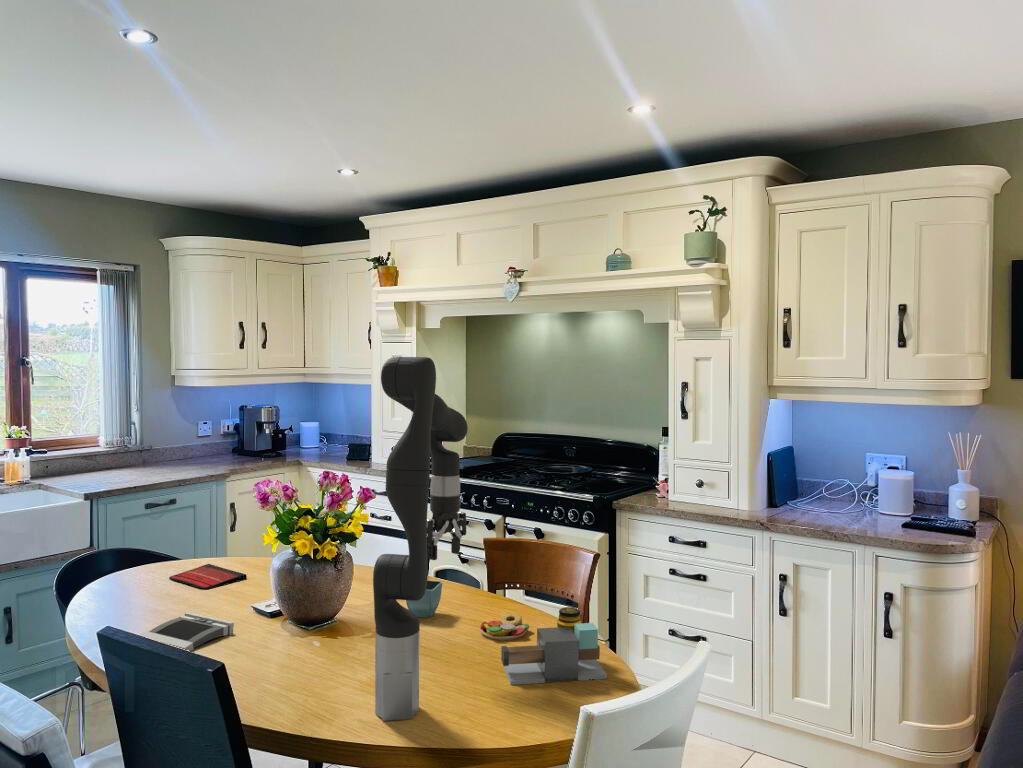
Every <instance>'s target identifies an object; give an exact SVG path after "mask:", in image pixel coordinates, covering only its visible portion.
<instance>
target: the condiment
mask: <svg viewBox="0 0 1023 768" xmlns="http://www.w3.org/2000/svg"><path fill="white" fill-rule="evenodd" d="M558 613H559V614H558V620H557V622H556V623H557V624H556V627H570V629H571V630H572V632H573V633H574V631H575V624H581V623H582V621H581V616H580V615H581V612H580V609H578V608H576V607H572V606H571V607H570V606H566V607H562V608H560V609H559V611H558Z"/></svg>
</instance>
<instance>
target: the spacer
mask: <svg viewBox="0 0 1023 768" xmlns="http://www.w3.org/2000/svg"><path fill="white" fill-rule="evenodd" d="M574 634H575V636H576V637H577V639H578V640H579V649H593V648H598V645H599V644H598V643H599V642H598V641H599V640H598V639H599V637H598V636H599V629H598V628H597V627H596V625H595V624H594V623H593V622H585V623H583V622H581V624H575V631H574Z"/></svg>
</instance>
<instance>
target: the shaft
mask: <svg viewBox="0 0 1023 768" xmlns="http://www.w3.org/2000/svg"><path fill="white" fill-rule="evenodd" d="M500 647H501V648H500V649H501V650H500V653H501V654H500V656H501V658H500V660H501V663H502V665H503V667H504V666H509V664H527V663H542V662H543V648H542V647H541V645H537V644H536V645H519V646H507V645H501V646H500ZM600 649H601V648H600V645H599V644H598V648H593V649H579V654H578V660H600V655H601V654H600V653H601V652H600Z"/></svg>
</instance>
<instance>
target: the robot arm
mask: <svg viewBox="0 0 1023 768" xmlns="http://www.w3.org/2000/svg"><path fill="white" fill-rule="evenodd" d="M380 384H381V386H382V387H381V388H382V390H383V392H384V393H385V394H386V396H387V397H388V398H390V399H392V400H393V401H395V402H397V403H399V405H401V406H402V407H403V406H404V407H405V408H406V409H408V410H409V411H411V412H412V415H411V416H412V417H411V419H410V420H409V421H410V422H409V424H408V426H407V428H406V429H405V431H404V432H403V433H402V435H401V437H400V438H399V439H398V441H397V442H396V444H395V445H394V447H393V449H392V450H391V452H390V453H389V455H388V457H387V461H386V467H385V468H386V470H385V471H386V472H385V493H386V497H387V500H388V502H389V503H390V505H391V508H392V509H393V511H394V512H395V514H396V516H397V518H398V519H399V521H400V523H401V526H402V527H403V529H404V533H405V536H406V539H407V545H408V554H398V553H397V554H396V553H383V554H380V555H379V556H378V557H377V559H376V561H375V564H374V567H373V571H372V573H373V575H372V576H373V577H372V584H373V585H372V587H373V588H372V589H373V591H372V592H373V608H374V609H373V610H374V613H373V616H374V624H375V646H374V647H375V649H374V650H375V653H374V655H375V657H374V658H375V660H374V661H375V662H374V663H375V664H374V666H375V667H374V668H375V669H374V671H375V672H374V696H375V697H374V699H375V700H374V704H375V705H374V711H375V713H374V714H375V715H376V716H378V717H379V718H380V719H382V721H383V722H386V721H387V722H388V721H398V720H399V721H401V720H411V719H414V718H413V717H414V716H415V715H416V714H418V712H419V710H420V633H421V631H420V626H421V625H420V622H421V621H420V617H418V615H417V614H415V613H414V612H412V611H410V610H409V609H408V608H406V607H405V606H403V605H401V604H400V603H399V602H398V600H400V601H406V600H411V601H416V600H420V599H421V598H422V597H423V596H424V594H425V591H426V586H427V580H428V577H429V576H428V572H429V571H428V567H429V566H428V564H429V563H428V559H429V560H431V561H437V560H438V543H439V541H440V539H441V538H443V537H444V536H443V535H446V534H447V533H449V534H450V536H451V539H450V540H451V542H450V544H451V545H450V549H451V554H454V555H458V554H460V551H461V539H462V538H463V536H466V535H467V514H466V512H464V511H460V510H461V480H460V466H461V465H460V461H461V459H460V454H459V453H458V452H457V451H453V450H449V449H447V448H445V447H444V445H443V444H442V442H448V443H449V442H450V443H459V442H461V441H462V440H464V439H465V438H466V436H467V434H468V431H469V430H468V429H469V428H468V423H467V420H466V418H465V416H464V415H463V414H461V412H459V411H457V410H456V409H454V408H452V407H450V406H448V405H447V403H446V402H445V400H444V399H443V398H441V397H440V395H438V394H437V393H436V389H437V388H436V386H437V385H436V384H437V370H436V365H435V362H434V360H433V359H432V358H431V357H428V356H427V357H426V356H395V357H393V356H392V357H390V358H388V359H386V360H385V361H384V363H383V365H382V368H381V373H380ZM430 470H431V472H430ZM430 474H431V475H430ZM429 492H430V493H429ZM429 497H430V499H429ZM429 503H430V504H429ZM428 505H429V506H428ZM428 507H429V508H428ZM428 509H429V510H430V511H431V513H432V516H431V518H428Z"/></svg>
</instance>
